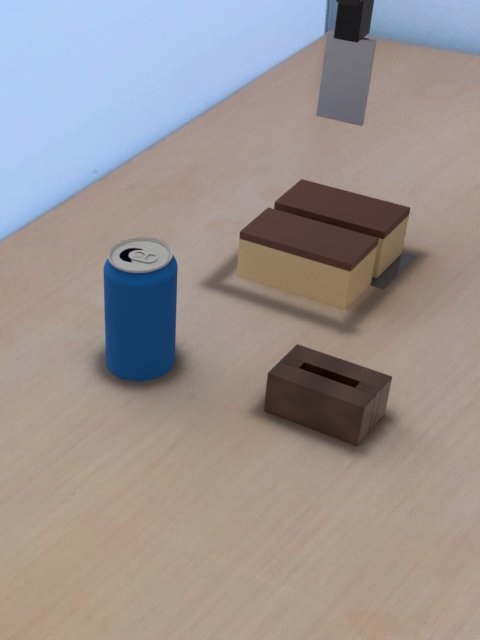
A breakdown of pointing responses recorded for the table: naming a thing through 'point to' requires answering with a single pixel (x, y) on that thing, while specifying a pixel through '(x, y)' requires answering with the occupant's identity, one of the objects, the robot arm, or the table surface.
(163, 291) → the beverage can
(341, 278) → the cake slice
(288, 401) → the knife block
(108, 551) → the table surface
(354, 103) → the knife
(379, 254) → the block
